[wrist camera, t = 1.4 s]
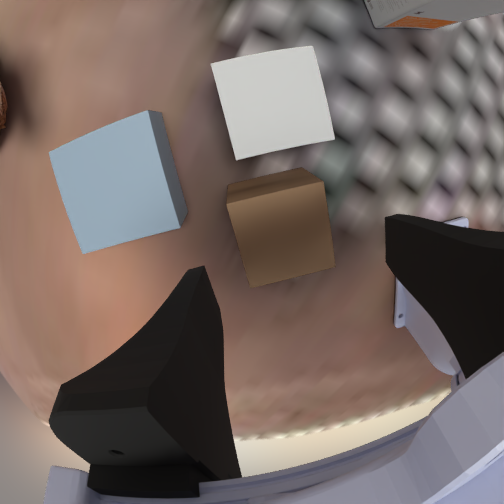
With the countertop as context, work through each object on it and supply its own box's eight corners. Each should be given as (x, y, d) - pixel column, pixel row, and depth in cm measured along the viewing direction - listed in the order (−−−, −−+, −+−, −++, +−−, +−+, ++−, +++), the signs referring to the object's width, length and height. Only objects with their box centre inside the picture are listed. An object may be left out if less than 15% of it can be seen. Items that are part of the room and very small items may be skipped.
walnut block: (314, 235, 21) (335, 266, 16) (246, 251, 21) (250, 288, 17) (301, 167, 19) (323, 181, 14) (228, 184, 19) (226, 204, 15)
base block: (188, 210, 20) (180, 227, 17) (102, 234, 20) (82, 254, 17) (162, 112, 17) (147, 110, 14) (74, 146, 17) (48, 152, 14)
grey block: (310, 135, 18) (334, 139, 14) (235, 151, 18) (236, 160, 14) (292, 64, 16) (312, 45, 11) (216, 79, 16) (210, 63, 12)
